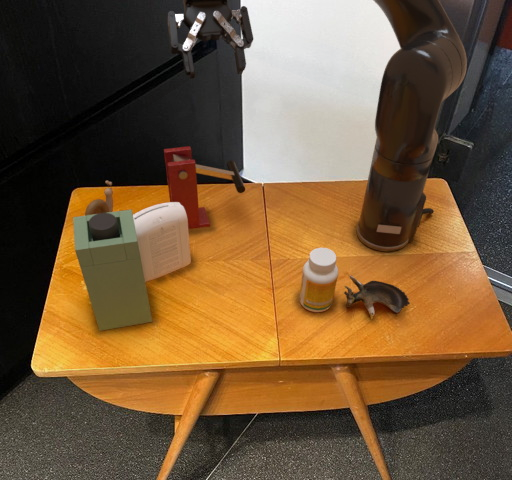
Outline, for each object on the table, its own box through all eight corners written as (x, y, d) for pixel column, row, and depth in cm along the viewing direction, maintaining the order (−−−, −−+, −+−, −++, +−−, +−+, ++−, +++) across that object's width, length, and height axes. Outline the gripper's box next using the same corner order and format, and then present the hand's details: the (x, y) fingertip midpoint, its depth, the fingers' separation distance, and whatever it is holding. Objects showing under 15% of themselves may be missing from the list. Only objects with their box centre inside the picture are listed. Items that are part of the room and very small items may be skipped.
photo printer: (183, 251, 95) (176, 190, 85) (195, 265, 92) (190, 205, 83) (128, 273, 91) (115, 212, 81) (140, 288, 88) (128, 227, 79)
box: (146, 290, 88) (131, 209, 76) (152, 322, 84) (137, 241, 72) (96, 298, 87) (72, 217, 75) (99, 331, 83) (74, 250, 70)
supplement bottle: (293, 295, 88) (298, 249, 81) (321, 285, 90) (329, 240, 83) (309, 317, 85) (316, 272, 78) (338, 307, 87) (348, 262, 79)
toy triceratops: (351, 328, 82) (411, 319, 82) (346, 282, 80) (407, 272, 80) (345, 315, 90) (400, 306, 89) (340, 273, 88) (396, 263, 87)
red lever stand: (204, 210, 102) (200, 143, 91) (210, 231, 98) (207, 162, 88) (161, 216, 101) (152, 148, 90) (166, 237, 97) (157, 168, 86)
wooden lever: (232, 170, 98) (236, 158, 96) (242, 196, 93) (247, 184, 91) (166, 157, 93) (170, 144, 91) (174, 184, 88) (177, 171, 86)
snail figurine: (133, 244, 95) (122, 186, 86) (108, 265, 92) (94, 206, 83) (110, 233, 97) (96, 174, 88) (84, 253, 94) (67, 194, 84)
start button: (119, 229, 76) (115, 211, 74) (121, 246, 74) (117, 227, 71) (92, 233, 75) (87, 214, 73) (94, 250, 73) (89, 231, 71)
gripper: (159, -35, 88) (177, 69, 90) (245, -40, 91) (260, 62, 92) (159, -10, 95) (175, 86, 97) (238, -15, 98) (252, 79, 100)
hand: (216, 74), depth 95 cm, fingers open, 8 cm apart
